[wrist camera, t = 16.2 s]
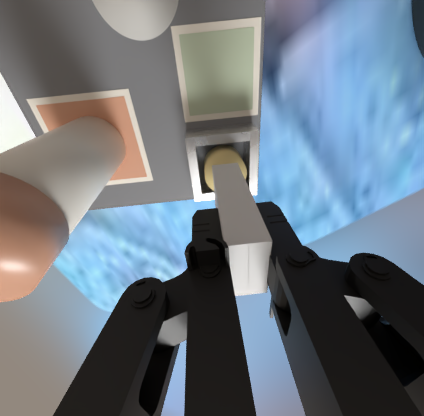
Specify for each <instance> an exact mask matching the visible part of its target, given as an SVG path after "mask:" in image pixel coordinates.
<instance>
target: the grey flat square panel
mask: <svg viewBox="0 0 424 416" xmlns="http://www.w3.org/2000/svg"><path fill="white" fill-rule="evenodd" d="M264 22H265V0H0V72H1V74H2V76H3V78H4V80H5V81H6V83H7V85H8V87H9V89H10V91H11V92H12V94H13V96H14V98H15V100H16V101H17V103H18V105H19V107H20V109H21V110H22V112H23V114H24V116H25V118H26V120H27V121H28V123H29V125H30V127H31V129H32V130H33V132H34V134H35V136H36V137H38V136H40V135H42V134H44V133H47V132H49V131H51V130H53V129H55V128H58V127H60V126H62V125H64V124H66V123H68V122H71V121H73V120H75V119H77V118H80V117H83V116H94V117H98V118H101V119H103V120H105V121H107V122H109V123H110V124H112V125H113V126H114V127H115V128H116V129H117V130H118V131H119V133H120V134H121V136H122V138H123V140H124V142H125V146H126V155H125V158H124V160H123V162H122V163H121V165H120V166H119V168H118V169H117V170H116V172H115V173H114V174H113V176H112V177H111V179H110V180H109V181H108V183H107V184H106V185H105V187H104V188H103V190H102V191H101V192H100V194H99V195H98V197H97V198H96V199H95V201H94V202H93V203H92V205H91V206H90V208H89V209H88V210H95V209H104V208H114V207H123V206H133V205H142V204H152V203H161V202H171V201H180V200H190V199H194V194H193V187H192V181H191V175H190V168H189V162H188V156H187V149H186V143H185V134H186V130H188V129H198V128H207V127H217V126H226V125H236V124H245V123H253V124H254V125H255V126H256V127H257V128H258V129H259V130H260V117H261V94H262V70H263V46H264ZM259 141H260V134H259ZM219 145H228V146H231V147H233V148H235V149H236V150H237V151H238V152H239V154H240V156H241V158H242V160H243V162H244V141H243V142H234V143H224V144H215V145H205V146H197V153H198V160H199V168H200V176H201V181H204V180H205V173H204V159H205V156H206V155H207V153H208V152H209V151H210V150H211V149H212V148H214V147H216V146H219ZM258 165H259V158H258ZM257 189H258V183H257Z"/></svg>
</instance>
